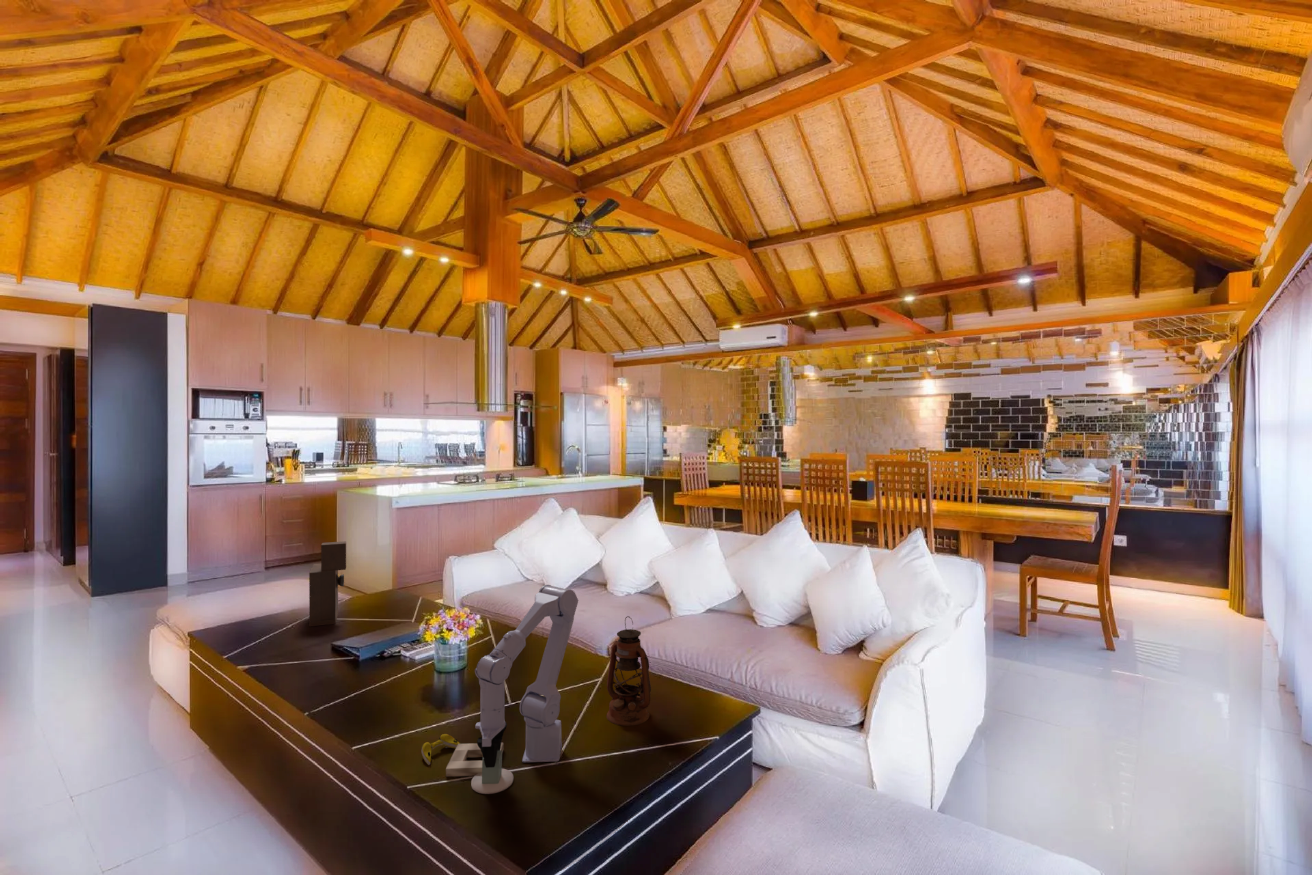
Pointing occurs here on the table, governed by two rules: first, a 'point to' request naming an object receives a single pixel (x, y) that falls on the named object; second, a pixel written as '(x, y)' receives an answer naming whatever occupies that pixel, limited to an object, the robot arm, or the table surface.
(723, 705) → the table surface
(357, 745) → the table surface
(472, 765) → the board
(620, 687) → the lantern
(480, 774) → the coaster
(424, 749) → the game controller
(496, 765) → the block
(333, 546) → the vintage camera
